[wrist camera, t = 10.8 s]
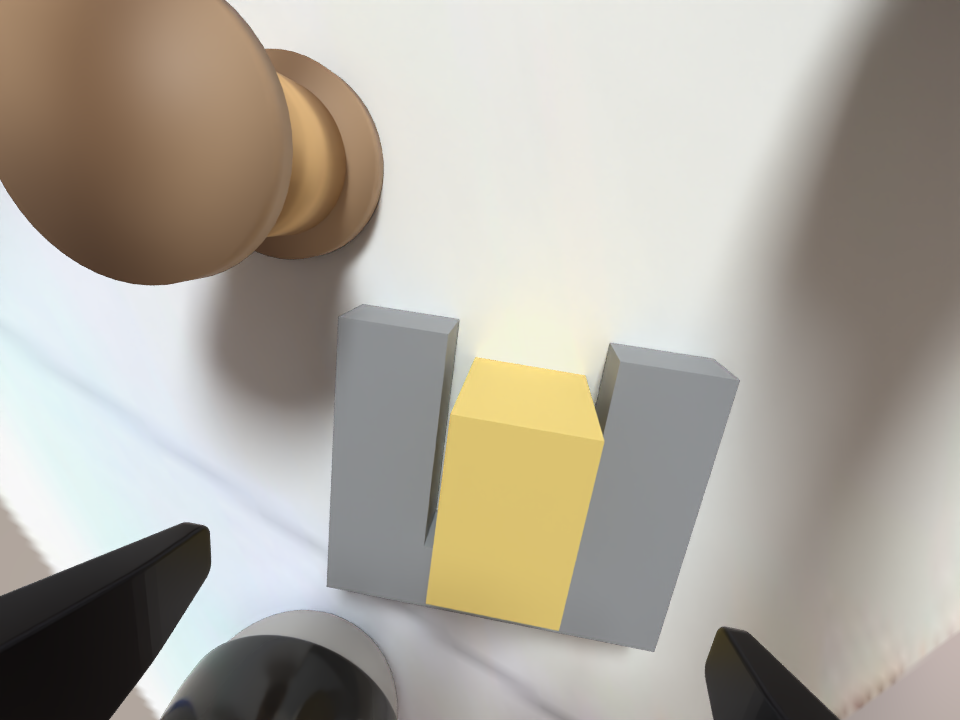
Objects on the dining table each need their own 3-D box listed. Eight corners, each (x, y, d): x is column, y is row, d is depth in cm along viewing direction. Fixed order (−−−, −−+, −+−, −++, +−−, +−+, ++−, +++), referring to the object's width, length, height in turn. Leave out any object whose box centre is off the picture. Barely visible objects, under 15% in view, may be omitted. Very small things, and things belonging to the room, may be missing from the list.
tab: (553, 521, 22) (558, 630, 16) (454, 502, 22) (425, 603, 16) (585, 374, 20) (604, 441, 14) (475, 356, 20) (450, 414, 14)
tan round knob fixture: (390, 69, 17) (270, -47, 9) (377, 269, 19) (270, 305, 11) (202, 47, 17) (-57, -82, 10) (209, 243, 20) (1, 263, 12)
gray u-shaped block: (714, 359, 19) (739, 380, 16) (641, 605, 22) (654, 652, 20) (362, 304, 20) (338, 316, 17) (348, 548, 23) (326, 586, 21)
